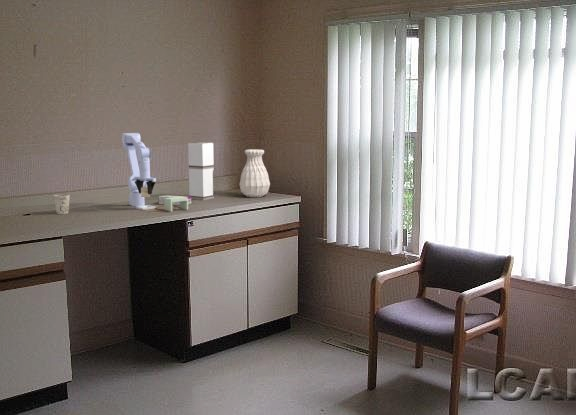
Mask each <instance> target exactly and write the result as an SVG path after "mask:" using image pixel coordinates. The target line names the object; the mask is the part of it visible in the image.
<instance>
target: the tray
mask: <svg viewBox="0 0 576 415" xmlns="http://www.w3.org/2000/svg"><path fill="white" fill-rule="evenodd" d="M155 206H156V205H150V204H148V205H147V204H145V206H135V208H136V209H135V210H137V209H140V210H139V211H141V210H151V209H155V208H156V207H155Z"/></svg>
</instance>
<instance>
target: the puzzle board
mask: <svg viewBox="0 0 576 415" xmlns="http://www.w3.org/2000/svg"><path fill="white" fill-rule="evenodd" d="M154 206H155V207H156V208H155V209H151V210H140V209H136V207H133V210H138V211H140V212H146V213H150V214H163V213H171V211H168V210H164V204H158V205H154ZM178 211H187V210H186V209H182V208H180V205H172V212H178Z"/></svg>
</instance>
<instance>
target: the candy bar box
mask: <svg viewBox="0 0 576 415" xmlns="http://www.w3.org/2000/svg"><path fill="white" fill-rule="evenodd" d="M179 196H180V195H160V196H158V205H164V198H170V197H179ZM181 196H182V197H187V198H188V205H189V204H192V199H191V196H189V195H188V196H187V195H181ZM174 205H175V206H180V201H179V202H172V206H174Z"/></svg>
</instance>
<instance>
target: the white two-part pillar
mask: <svg viewBox="0 0 576 415" xmlns="http://www.w3.org/2000/svg"><path fill="white" fill-rule="evenodd" d="M187 147H188V148H187V149H188V150H187V151H188V152H187V153H188V154H187V155H188V190H189V193H188V196H191V200H199V201H206V200H207V201H208V200H212V199H215V195H214V178H213V176H214V173H213V172H214V170H215V169H214V168H215V167H214V166H215V163H214V162H215V161H214V142H201V141H200V142H197V143H193V142H188V144H187Z"/></svg>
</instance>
